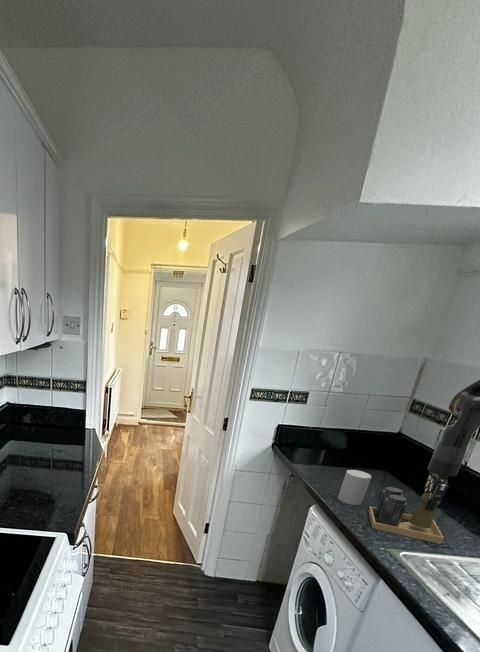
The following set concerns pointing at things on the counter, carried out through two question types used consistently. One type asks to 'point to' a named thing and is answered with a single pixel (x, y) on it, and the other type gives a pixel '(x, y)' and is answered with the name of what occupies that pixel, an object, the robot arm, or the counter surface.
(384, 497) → the shaker
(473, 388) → the robot arm
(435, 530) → the tray
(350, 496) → the white upright cylinder
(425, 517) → the cork
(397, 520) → the shaker
